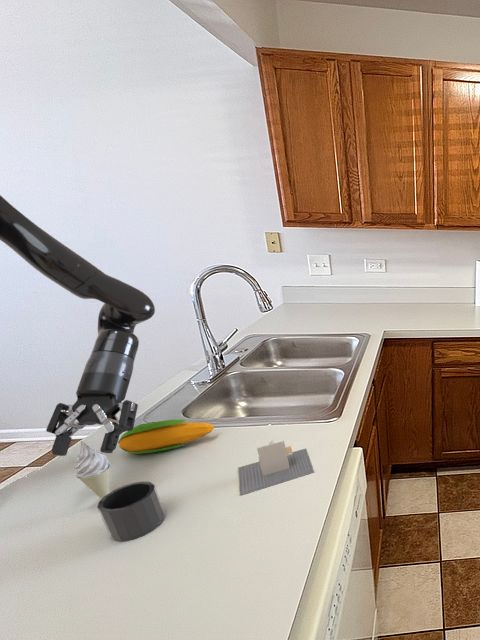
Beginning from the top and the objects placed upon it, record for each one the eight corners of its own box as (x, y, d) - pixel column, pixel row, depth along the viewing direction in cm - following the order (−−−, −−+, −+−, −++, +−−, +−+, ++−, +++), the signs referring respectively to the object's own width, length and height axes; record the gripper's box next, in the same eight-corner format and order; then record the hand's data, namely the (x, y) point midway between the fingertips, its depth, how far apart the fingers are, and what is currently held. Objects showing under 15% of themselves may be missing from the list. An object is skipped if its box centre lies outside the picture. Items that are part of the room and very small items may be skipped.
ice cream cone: (127, 499, 83) (102, 438, 78) (96, 514, 79) (67, 451, 74) (117, 491, 86) (92, 431, 80) (86, 505, 82) (58, 443, 76)
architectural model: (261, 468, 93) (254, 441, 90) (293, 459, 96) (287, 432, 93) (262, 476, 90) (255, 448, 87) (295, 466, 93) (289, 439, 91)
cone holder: (100, 545, 72) (86, 515, 69) (126, 513, 79) (114, 485, 77) (152, 536, 74) (140, 507, 71) (172, 506, 81) (162, 478, 79)
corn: (119, 421, 98) (213, 405, 105) (130, 446, 101) (220, 429, 108) (107, 438, 92) (208, 420, 99) (119, 464, 95) (216, 445, 102)
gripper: (54, 371, 80) (23, 453, 73) (130, 369, 81) (106, 448, 75) (85, 384, 87) (60, 459, 80) (155, 381, 88) (135, 455, 82)
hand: (82, 454), depth 78 cm, fingers open, 8 cm apart
